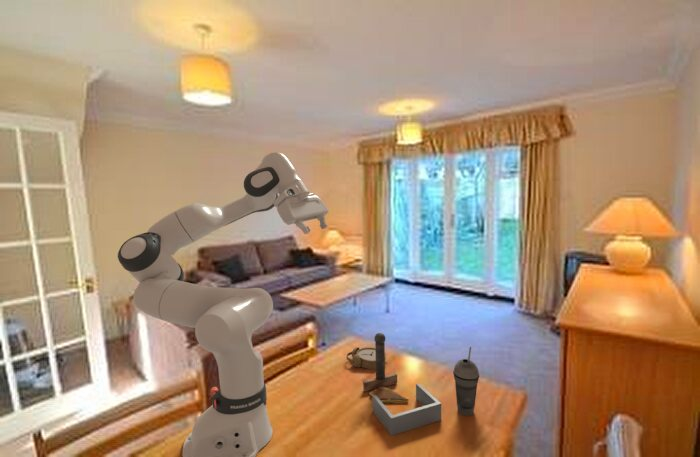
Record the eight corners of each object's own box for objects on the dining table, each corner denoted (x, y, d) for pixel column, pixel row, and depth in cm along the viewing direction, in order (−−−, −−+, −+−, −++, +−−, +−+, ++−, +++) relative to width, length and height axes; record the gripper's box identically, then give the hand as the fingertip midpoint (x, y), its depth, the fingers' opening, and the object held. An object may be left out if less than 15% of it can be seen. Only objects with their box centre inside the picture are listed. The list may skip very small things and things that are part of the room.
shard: (409, 404, 110) (409, 398, 110) (392, 414, 105) (392, 409, 105) (383, 389, 118) (383, 384, 118) (366, 398, 113) (366, 393, 113)
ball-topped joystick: (366, 393, 115) (365, 338, 113) (361, 387, 118) (360, 334, 116) (399, 384, 119) (398, 332, 117) (393, 379, 123) (393, 328, 121)
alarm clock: (388, 361, 130) (347, 356, 130) (386, 374, 131) (345, 368, 130) (385, 348, 142) (347, 342, 141) (382, 359, 142) (345, 354, 142)
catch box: (391, 435, 96) (391, 418, 95) (372, 411, 106) (372, 395, 106) (441, 419, 102) (441, 403, 101) (418, 398, 112) (418, 383, 112)
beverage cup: (460, 400, 111) (461, 338, 108) (483, 410, 105) (484, 345, 103) (448, 411, 106) (448, 346, 103) (471, 422, 100) (472, 354, 98)
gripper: (308, 197, 129) (328, 230, 127) (268, 203, 112) (290, 241, 110) (319, 187, 126) (340, 220, 124) (280, 192, 109) (303, 230, 107)
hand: (316, 230), depth 117 cm, fingers open, 8 cm apart
